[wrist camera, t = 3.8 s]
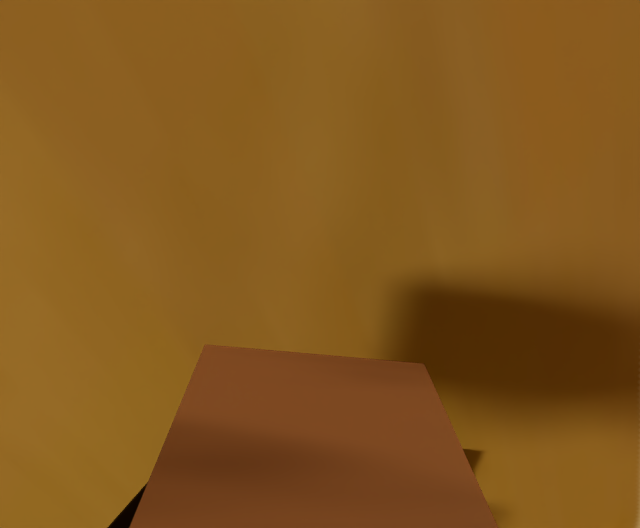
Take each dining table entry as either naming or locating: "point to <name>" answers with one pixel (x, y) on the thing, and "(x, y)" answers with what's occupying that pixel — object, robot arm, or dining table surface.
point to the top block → (310, 448)
